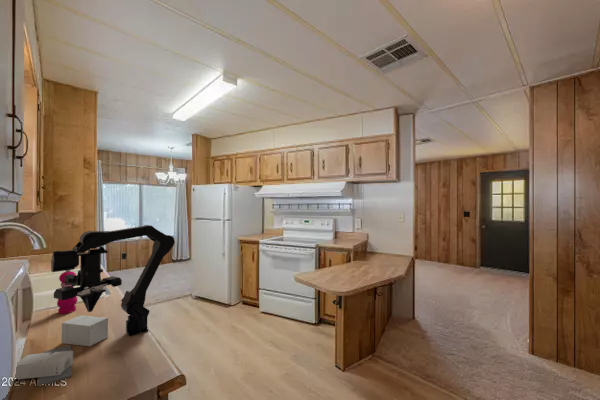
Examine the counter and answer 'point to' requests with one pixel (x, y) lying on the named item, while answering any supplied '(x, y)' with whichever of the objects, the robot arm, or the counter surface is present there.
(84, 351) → the counter surface
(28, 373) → the skincare box
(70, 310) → the pepper mill
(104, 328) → the supplement box
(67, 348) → the rubber mat
